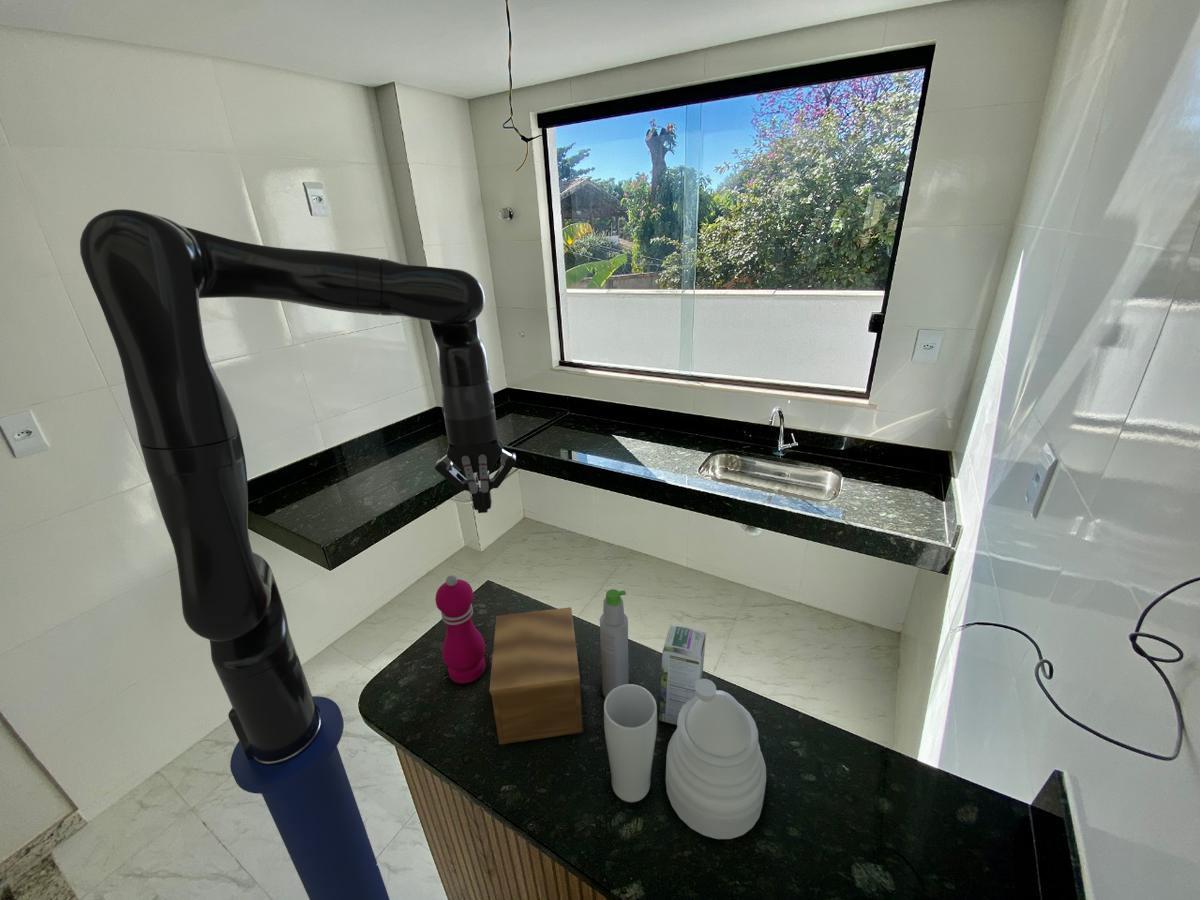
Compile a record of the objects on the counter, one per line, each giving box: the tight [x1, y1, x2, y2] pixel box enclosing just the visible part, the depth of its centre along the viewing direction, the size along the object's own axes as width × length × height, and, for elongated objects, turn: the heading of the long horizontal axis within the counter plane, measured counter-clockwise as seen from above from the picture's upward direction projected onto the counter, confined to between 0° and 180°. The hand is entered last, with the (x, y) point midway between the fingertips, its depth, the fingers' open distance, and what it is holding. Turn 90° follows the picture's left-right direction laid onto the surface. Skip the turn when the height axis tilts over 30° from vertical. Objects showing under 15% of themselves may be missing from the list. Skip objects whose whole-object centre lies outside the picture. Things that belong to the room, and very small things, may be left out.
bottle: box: [599, 588, 630, 699], centre depth 77 cm, size 4×4×20 cm
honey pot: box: [665, 678, 767, 840], centre depth 62 cm, size 13×13×18 cm
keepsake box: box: [490, 681, 584, 745], centre depth 78 cm, size 15×13×11 cm
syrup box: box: [658, 624, 707, 726], centre depth 74 cm, size 6×6×14 cm
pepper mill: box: [434, 574, 486, 685], centre depth 82 cm, size 7×7×20 cm
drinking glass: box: [603, 683, 658, 803], centre depth 63 cm, size 7×7×15 cm
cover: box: [488, 606, 581, 695], centre depth 75 cm, size 15×13×1 cm
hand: (483, 510), depth 80 cm, fingers closed
